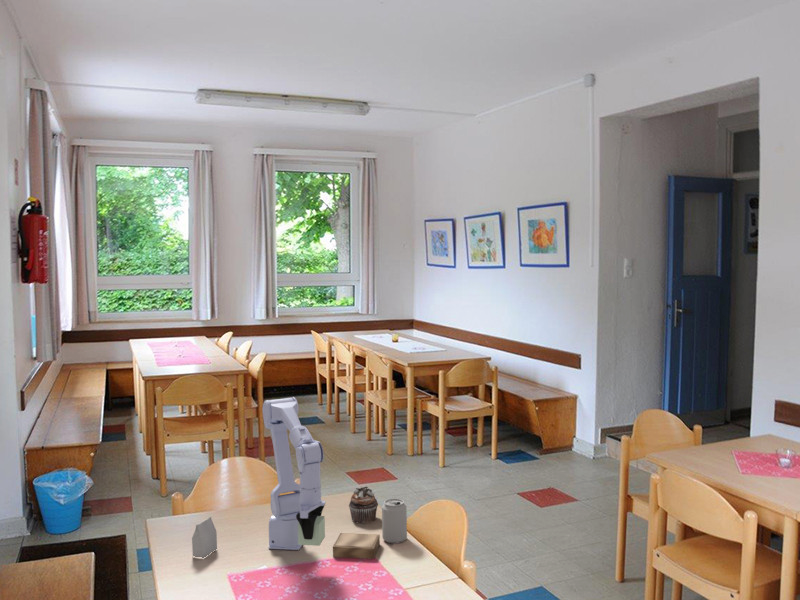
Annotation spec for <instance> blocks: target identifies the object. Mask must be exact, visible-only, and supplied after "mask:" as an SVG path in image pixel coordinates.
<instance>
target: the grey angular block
mask: <svg viewBox="0 0 800 600" xmlns="http://www.w3.org/2000/svg"><path fill="white" fill-rule="evenodd" d="M217 540H218V535H217V529H216V527H215V524H214V522H213V519H212V516H208V517H207V518H206V519H204V520H202V521H201V522H199V523H197V524H196V525H195V530H194V531H193V534H192V537H191V545H192V548H191V549H192V550H191V552H192V557H193V556H195V557H202V558H204V557H206V556H207V555H209V554H210V553H211V552H213V551H214V550H216V549H217V550H218V541H217ZM209 556H210V555H209Z"/></svg>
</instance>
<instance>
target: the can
mask: <svg viewBox="0 0 800 600" xmlns="http://www.w3.org/2000/svg"><path fill="white" fill-rule="evenodd" d="M407 518H408V517H407V505H406V504H405V500H404V499H401V498H387V499H385V500H384V501H383V504H382V506H381V525H382V526H381V527H382V528H381V530H382V535H381V536H382V539H383V540H384V541H385V542H386V543H388V544H400V543H402V542H403V543H404V541H405V540H406V539H408V527H407V526H408V523H407V522H408V520H407Z"/></svg>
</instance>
